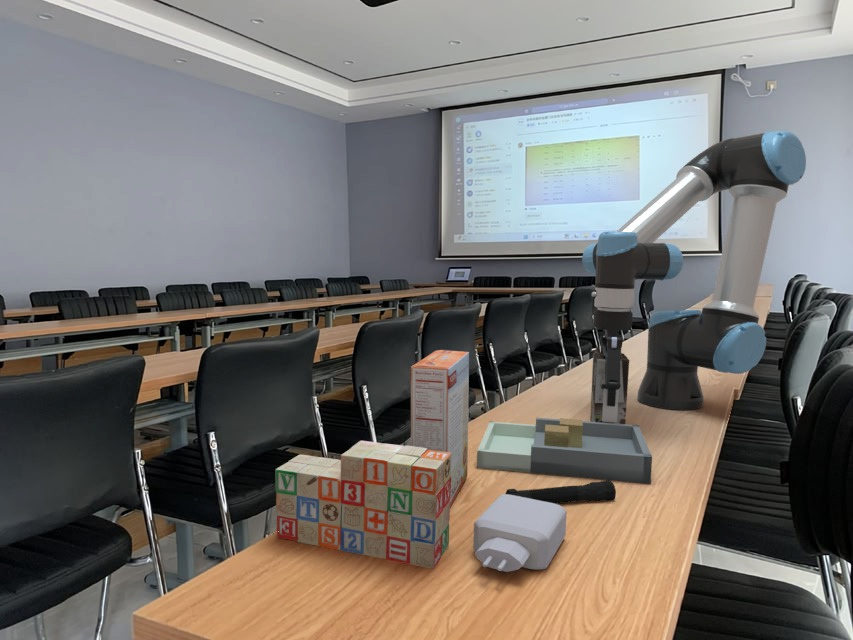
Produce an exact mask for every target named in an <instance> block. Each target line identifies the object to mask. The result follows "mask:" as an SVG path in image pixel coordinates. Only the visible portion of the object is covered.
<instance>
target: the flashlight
mask: <svg viewBox="0 0 853 640" xmlns="http://www.w3.org/2000/svg"><path fill="white" fill-rule="evenodd" d="M616 493H617V490H616V486H615V484H614V482H612V481H611V480H601V481H592V482H590V483H589V482H588V483H586V484H583V485H582V484H581V485H566V486H555V487H545V488H544V487H542V488H532V489H530V488H529V489H522V490H517V489H516V488H508V489H507V490H506V491H505V493H504V494H509V495H515V496H520V497H525V498H530V499H534V500H539V501H544V502H549V503H554V504H564V503H565V504H566V503H567V504H568V503H577V502H603V501H615V500H616Z"/></svg>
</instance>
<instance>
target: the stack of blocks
mask: <svg viewBox="0 0 853 640" xmlns="http://www.w3.org/2000/svg"><path fill="white" fill-rule="evenodd" d="M274 472H275V474H274V475H275V478H274V479H275V480H274V481H275V482H274V483H275V492H276V495H275V496H276V497H275V501H276V502H275V503H276V504H275V510H276V511H275V515H276V538H278V539H284V540H289V541H295V542H298V543H302V544H307V545H310V546H311V545H312V546H319V547H322V548H326V549H331V550H337V551H342V552H348V553H352V554H353V553H354V554H358V555H364V556H369V557H373V558H379V559H385V560H388V561H392V562H398V563H403V564H408V565H412V566H418V567H423V568H428V569H435V568H436V566H437V565H438V563H439V561H440V560H441V558H442V556H443V554H444V553H445V551H446V550H447V549H448V547H449V544H450V543H449V542H450V512H451V510H450V509H451V507H450V497H451V453H448V452H441V451H434V450H428V449H427V448H422V447H414V446H411V445H401V444H393V443H392V444H391V443H382V442H377V441H376V442H375V441H367V440H359V441H358V442H356V443H355V444H354V445H352V446H351V447H350V448H349V449H348V450H347V451H345V452H344V453H342V454H341V455H340V459H335V458H331V457H330V458H329V457H322V456H321V457H319V456H315V455H308V454H301V453H300V454H298V455H297V456H295V457H292V459H290V460H288V462H287V461H286V462H285V463H283V464H282V465H280V466H279V467H277V468H275V471H274ZM278 531H279V532H278Z"/></svg>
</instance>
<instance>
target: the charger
mask: <svg viewBox="0 0 853 640" xmlns="http://www.w3.org/2000/svg"><path fill="white" fill-rule="evenodd" d="M567 512H568V511H567V510H566V508H565V507H563V506H561V505H560V504H559V503H557V504H554V503H549V502H544V501H539V500H534V499H530V498H525V497H520V496H515V495H509V494H505V493H503V494H501V495H499V496H498V497H497V498H496V499H495V500H494V501H493V502H492V503H491V504H490V505H489V506H488V507H487V508H486V510H485V511H484V512H483V513H481V514H480V516H479V517H478V518H477V519H476V520H475V521H474V523H473V543H472V544H473V545H472V546H473V547H472V548H473V550H474V552H475V553H474V555H475V557H476V558H477V560H479V561H480V562H481V563H482V567H484V568H486V567H488V568H491V569H494V570H497V571H498V572H505V573H509V572H514V571H517V570H519V569H521V568H525V569H529V570H535V571H538V570H539V571H542V570H543V571H544V570H545V569H547V568H548V566H549V564H550V563H551V561H552V560H553V558H554V556H555V554H556V553H557V552H558V549H559V547H560V545H561V544H562V543H563V540H564V539H565V537H566V531H567V529H566V528H567Z"/></svg>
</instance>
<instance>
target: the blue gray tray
mask: <svg viewBox="0 0 853 640" xmlns="http://www.w3.org/2000/svg"><path fill="white" fill-rule="evenodd" d="M582 422H583V433H582V448H580V447H569V446H568V448H567V447H555V446H544V438H545V425H558V426H560V418H559V419H558V418H547V417H536V418H535V425H536V432H535V438H534V444H533V445H531V467H530V473H529V474H537V475H538V474H540V475H548V476H559V477H570V478H582V479H591V480H601V481H606V480H610V481H611V482H612V481H613V482H622V483H634V484H644V485H651V483H652V468H653V467H652V465H653V464H652V463H653V455H652V453H651V451H650V449H649V446H648V444H647V441H646V440H645V437H644V434H643V432H642V430H641V427H640V425H639V424H626V423H625V424H616V423H602V422H590V421H587V420H586V421H585V420H582Z"/></svg>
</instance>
